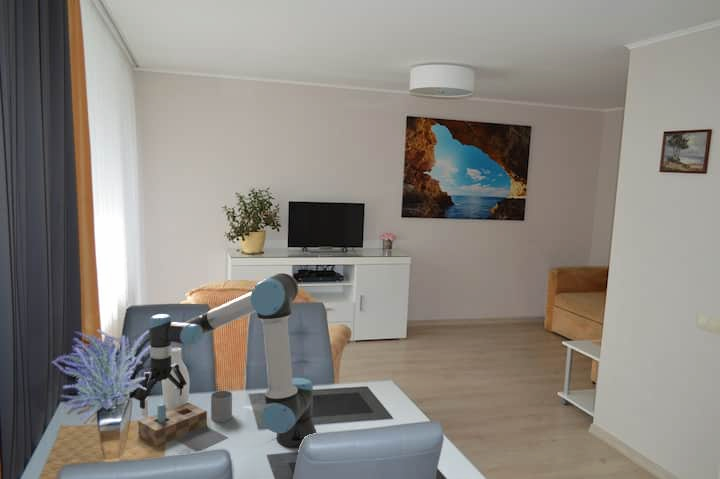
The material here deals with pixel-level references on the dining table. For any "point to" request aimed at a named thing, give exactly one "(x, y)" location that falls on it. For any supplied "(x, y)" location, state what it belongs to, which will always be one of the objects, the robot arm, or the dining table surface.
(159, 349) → the robot arm
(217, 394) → the cup
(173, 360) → the bottle
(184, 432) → the block
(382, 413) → the dining table surface
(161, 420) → the peg
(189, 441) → the mat
